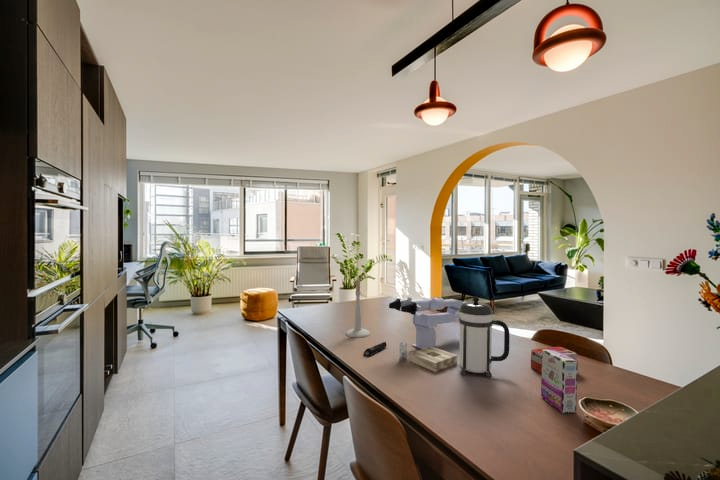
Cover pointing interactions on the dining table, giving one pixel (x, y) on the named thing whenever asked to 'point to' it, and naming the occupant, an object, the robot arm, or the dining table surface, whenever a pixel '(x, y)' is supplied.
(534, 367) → the medicine box
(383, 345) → the electric trimmer
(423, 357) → the socket block
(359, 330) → the candlestick
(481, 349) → the coffee press
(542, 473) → the dining table surface
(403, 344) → the peg
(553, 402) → the candy bar box
